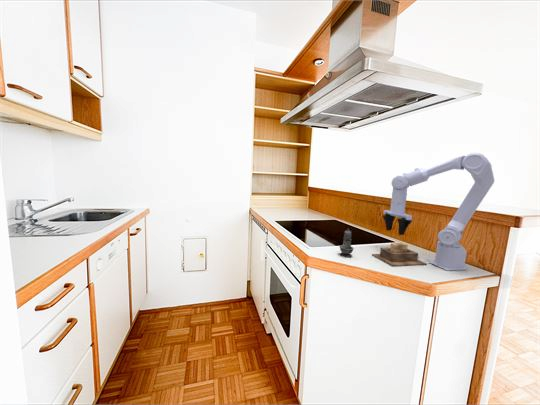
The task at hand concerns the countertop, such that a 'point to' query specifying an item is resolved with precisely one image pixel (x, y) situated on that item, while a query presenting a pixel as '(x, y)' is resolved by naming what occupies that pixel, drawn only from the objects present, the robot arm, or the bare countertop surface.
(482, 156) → the robot arm
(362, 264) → the countertop surface
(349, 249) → the grey stone statuette
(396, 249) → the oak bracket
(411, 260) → the brown flanged tray
